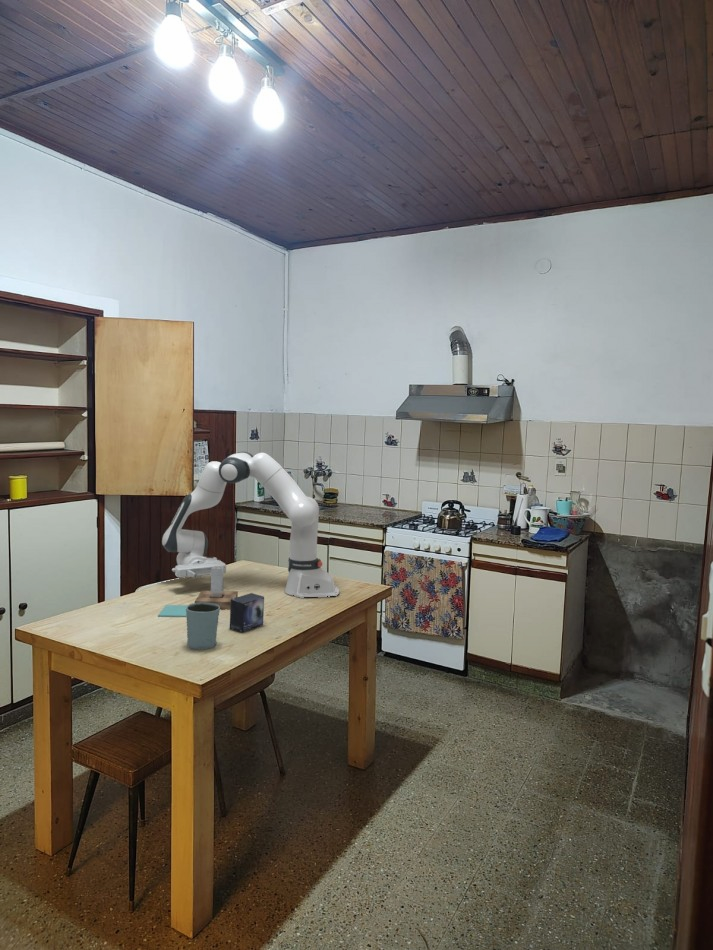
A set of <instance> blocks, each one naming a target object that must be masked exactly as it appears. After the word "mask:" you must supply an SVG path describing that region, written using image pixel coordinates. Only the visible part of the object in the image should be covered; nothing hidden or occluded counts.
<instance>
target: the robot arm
mask: <svg viewBox="0 0 713 950" xmlns="http://www.w3.org/2000/svg"><path fill="white" fill-rule="evenodd" d="M249 477H252V478H253V479H256V481H258V482H259V484H260V485H261V486H262V487H263V488H264V490H265V491H266V492H267V493H268V494H269V495H270V496H271V497H272V498H273V499H274V501H275V502H276V503H277V504H278V506H279V507H280V508H281V510H282V511H283V513H284V514H285V515H286V517H287V518H288V519H289V520H290V522H291V527H290V537H289V557H288V560H287V571H288V575H287V581H286V585H285V589H284V593H285V594H287V595H290V596H293V595H294V596H293V597H296V596H297V597H296V598H298V597H300V598H299V599H305V598H304V597H318V598H331V597H330V596H336V597H338V596H339V595H340V589H339V587H337V586H336V585H335V581H334V578H333V576H332V574H330V573H329V572H328V571H326V570H325V568H324V569H323V561H322V560H321V559H320V558H318V557H317V552H318V532H319V531H318V530H319V529H318V528H319V514H320V507H319V504H318V502H317V500H316V499H315V498H313V497H312V496H311V497H310V496H307V495H306V494H305V493H304V492H303V490H302V489H301V488H300V487H299V485H298V483H297V482H296V481H295V480H294V479H293V477H292V476H291V475H290V474H289V473H288V472H287V471H286V470H285V468H284V467H282V465H281V464H280V463H279V462H278V461H276V460H275V459H274V458H273V457H272V456H271V455H269V454H268V453H266V452H257V453H256V454H255V455H254V456H253V454H252V453H250V452H248V451H238V452H236V453H233V454H230V455H228V456H227V457H226V458H224V459H223V460H222V461H221V462H220V461H215V460H214V461H213V460H212V461H210V462H208V463H206V465H205V467H204V468H203V470H202V472H201V474H200V477H199V478H198V479H199V480H198V483H197V485H196V487H195V488H194V490H193V491H191V492H190V493H189V494H186V495H185V496H184V498H183V499H182V500H181V502H180V505H179V506H178V508H177V511H176V512H175V514H174V516H173V518H172V520H171V522H170V524H169V526H167V528H166V529H165V531H164V533H163V535H162V538H161V539H162V540H161V545H162V547H163V548H164V549H165V551H167V552H168V553H178V554H177V555H176V564H177V565H175V567H173V568H171V571H172V572H173V573H174V574H175V576H176V577H177V578H180V579H182V578H194V579H195V578H196V579H197V578H201V577H202V576H211V568H212V567H213V566H220V567H224V569H223V574H225V573H226V572H227V564H226V563H225V562H223V561H221V559H218V558H217V556H216V557H215V556H206V554H207V553H208V549H209V539H208V538H207V535H206V533H205V532H203V531H201V530H193V529H192V530H191V529H185V528H184V529H182V528H183V526H184V525H185V522H186V520H187V519H188V517H189V516H190V515H191V514H192V513H195V512H197V511H200V510H201V511H202V510H206V509H211V508H213V507H215V506H217V505H218V504H219V503H220V502H221V500H222V499H223V496H224V492H225V489H226V486H227V484H237V483H240V482H242V481H244V480H247V479H248V478H249ZM338 594H339V595H338ZM337 595H338V596H337ZM327 596H328V597H327Z"/></svg>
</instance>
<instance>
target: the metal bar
mask: <svg viewBox="0 0 713 950" xmlns="http://www.w3.org/2000/svg"><path fill="white" fill-rule="evenodd" d="M223 569H224V567H220V566H213V567H212V568H211V575H210V591H211V598H223V591H224V573H223Z"/></svg>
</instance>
